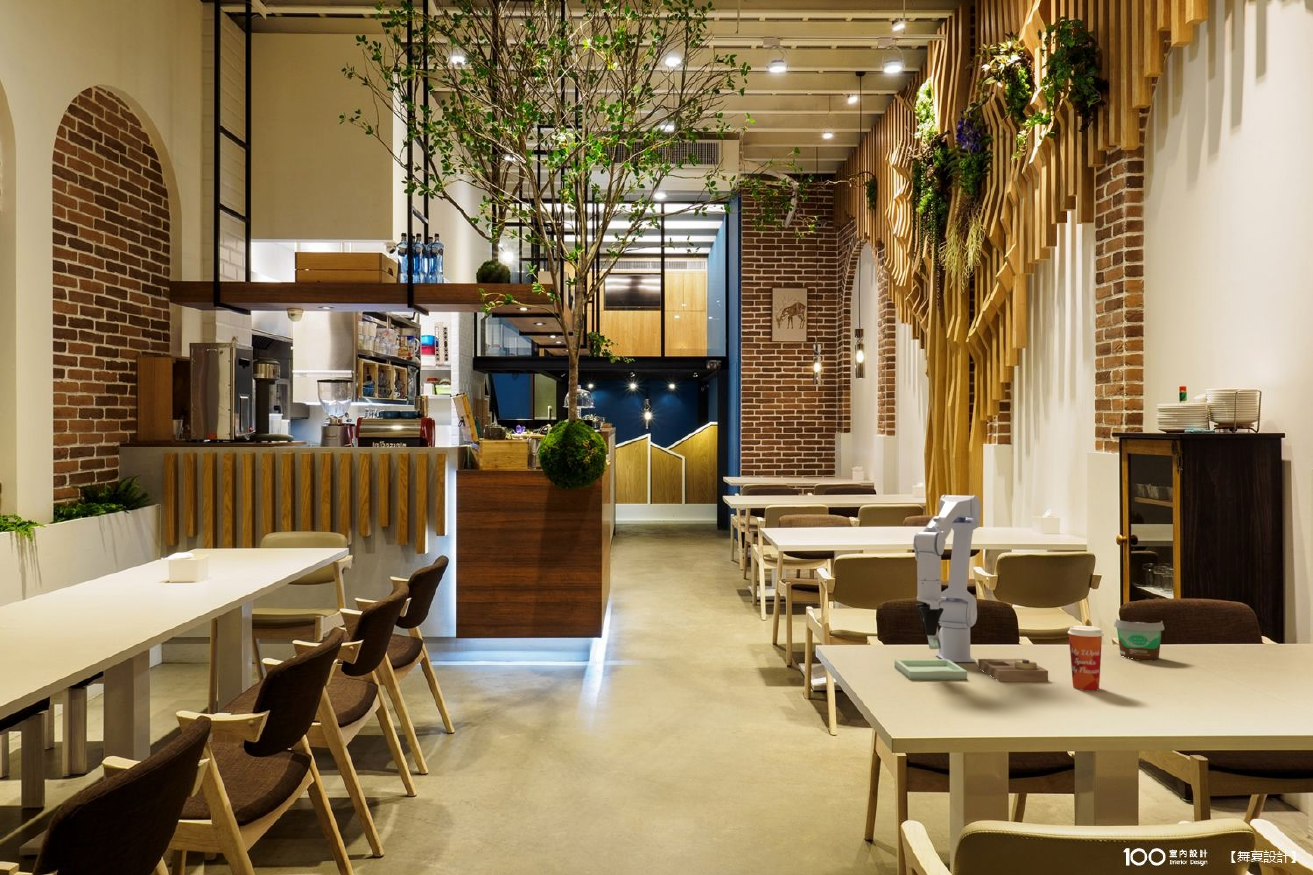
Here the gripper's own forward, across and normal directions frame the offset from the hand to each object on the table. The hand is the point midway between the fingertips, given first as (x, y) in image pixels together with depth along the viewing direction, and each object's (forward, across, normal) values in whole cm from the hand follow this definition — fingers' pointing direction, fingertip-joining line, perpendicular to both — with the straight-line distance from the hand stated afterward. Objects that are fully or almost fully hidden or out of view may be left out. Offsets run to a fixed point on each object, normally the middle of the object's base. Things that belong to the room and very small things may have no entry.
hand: (929, 633), depth 241 cm
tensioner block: (+10, 0, -20) cm, 22 cm away
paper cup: (+10, -12, -34) cm, 37 cm away
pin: (+3, 0, -1) cm, 4 cm away
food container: (+10, +23, -60) cm, 65 cm away
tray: (+10, 0, 0) cm, 10 cm away
